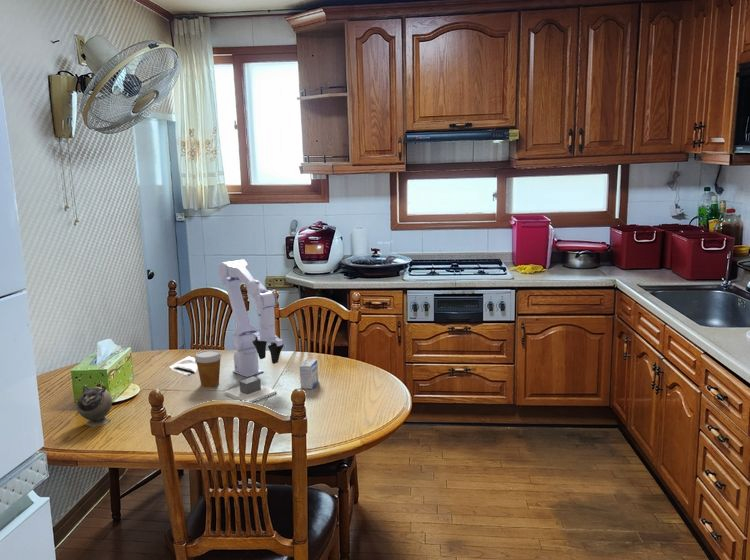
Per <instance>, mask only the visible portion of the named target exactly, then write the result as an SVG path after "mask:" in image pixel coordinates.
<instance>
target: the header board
mask: <svg viewBox="0 0 750 560" xmlns="http://www.w3.org/2000/svg"><path fill="white" fill-rule="evenodd" d="M275 393H276V394H277V390H275V389H272V388H270V387H266V386H265V385H262V384H261V390H259V391H256V392H253V393H250V394H248V395H247V394H244V393H242V392H240V385H238V386H235V387H233V388H230V389H227V390H225V391H224V395H226V396H229V397H231V398H234V399H235V400H238V401H240V400H244V401H249V402H253V401H256V400H258V399H261V398H264V397H266V398H268V396H269V397H271V396H273V395H272V394H274V395H276V394H275ZM270 395H271V396H270ZM264 399H265V398H264ZM261 400H262V399H261ZM258 401H259V400H258ZM256 402H257V401H256ZM253 403H254V402H253Z"/></svg>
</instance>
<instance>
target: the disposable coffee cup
mask: <svg viewBox="0 0 750 560" xmlns="http://www.w3.org/2000/svg"><path fill="white" fill-rule="evenodd" d="M194 358H195V363H196V364H197V367H198V369H197V371H198V376H199V379H200V385H201V386H200V387H203V388H214V387H217V386H219V384H220V372H221V371H220V370H221V358H222V354H221V352H220V351H219V350H216V349H205V350H201V351H198V352H196V353H195V357H194Z"/></svg>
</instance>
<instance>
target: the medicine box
mask: <svg viewBox="0 0 750 560" xmlns="http://www.w3.org/2000/svg"><path fill="white" fill-rule="evenodd" d="M318 364H319V363H318V359H314V358H313V359H308V358H307V359H306V360H304V361H303V363H302V364H300V366H299V380H300V381H299V382H300V389H303V388H304V390H305V389H306V390H313V389H314V387H315V385H316V384H317V383H319V367H318V366H319V365H318Z"/></svg>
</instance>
